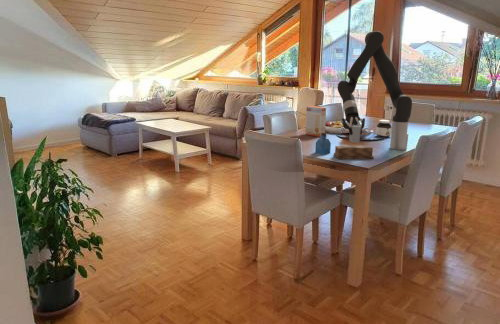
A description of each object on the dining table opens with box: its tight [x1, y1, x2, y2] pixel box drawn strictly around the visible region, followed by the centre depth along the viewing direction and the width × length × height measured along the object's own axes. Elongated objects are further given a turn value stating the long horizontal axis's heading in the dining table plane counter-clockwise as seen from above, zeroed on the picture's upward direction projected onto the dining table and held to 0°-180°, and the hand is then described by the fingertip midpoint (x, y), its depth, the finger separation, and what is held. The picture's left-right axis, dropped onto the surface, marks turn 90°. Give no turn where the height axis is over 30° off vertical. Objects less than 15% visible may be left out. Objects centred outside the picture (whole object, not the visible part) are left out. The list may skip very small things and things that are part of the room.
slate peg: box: [348, 125, 361, 143], centre depth 220 cm, size 4×4×9 cm
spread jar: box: [375, 119, 392, 138], centre depth 281 cm, size 12×11×12 cm
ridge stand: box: [333, 145, 375, 160], centre depth 223 cm, size 20×10×6 cm, turn 95°
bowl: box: [325, 120, 349, 135], centre depth 300 cm, size 30×30×8 cm
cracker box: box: [305, 105, 327, 138], centre depth 281 cm, size 14×6×21 cm, turn 40°
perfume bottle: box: [314, 132, 332, 155], centre depth 231 cm, size 6×6×12 cm
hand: (356, 134), depth 218 cm, fingers closed on slate peg, 4 cm apart
